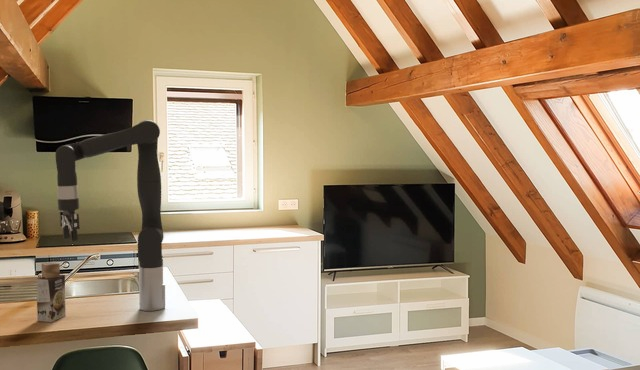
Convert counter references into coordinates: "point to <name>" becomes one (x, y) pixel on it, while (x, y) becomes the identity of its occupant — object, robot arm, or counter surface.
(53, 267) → the walnut cube
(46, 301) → the coffee box
